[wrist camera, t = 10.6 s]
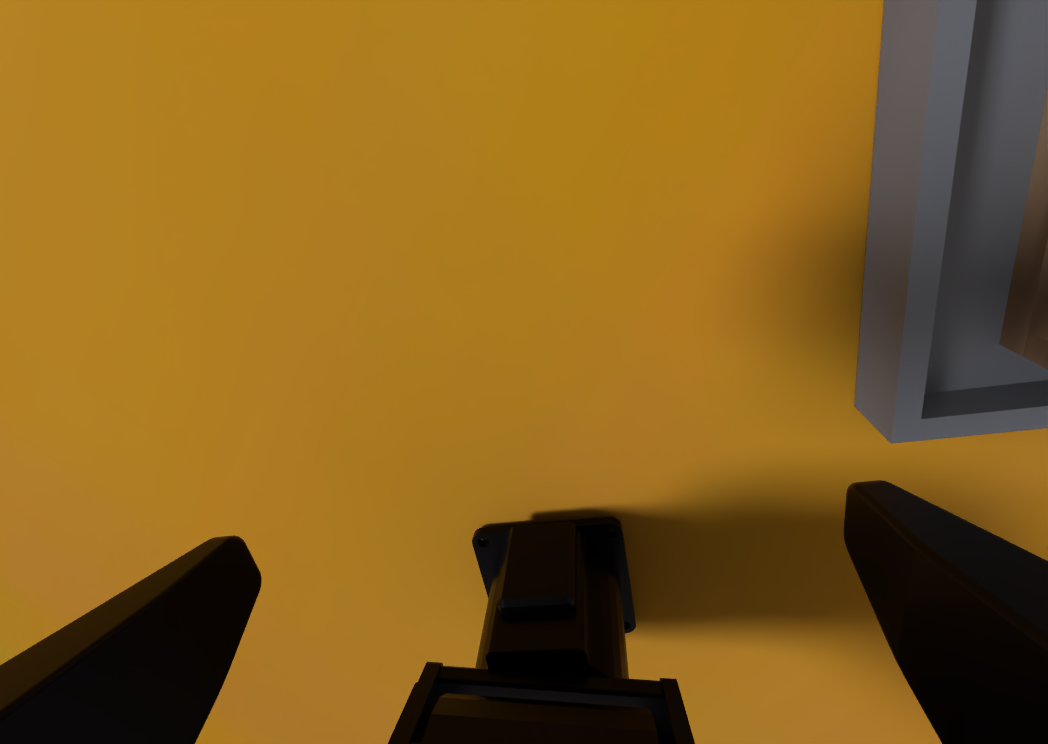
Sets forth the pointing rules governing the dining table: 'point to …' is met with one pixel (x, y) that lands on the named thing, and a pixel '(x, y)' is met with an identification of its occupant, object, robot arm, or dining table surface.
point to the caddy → (1031, 267)
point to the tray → (950, 218)
